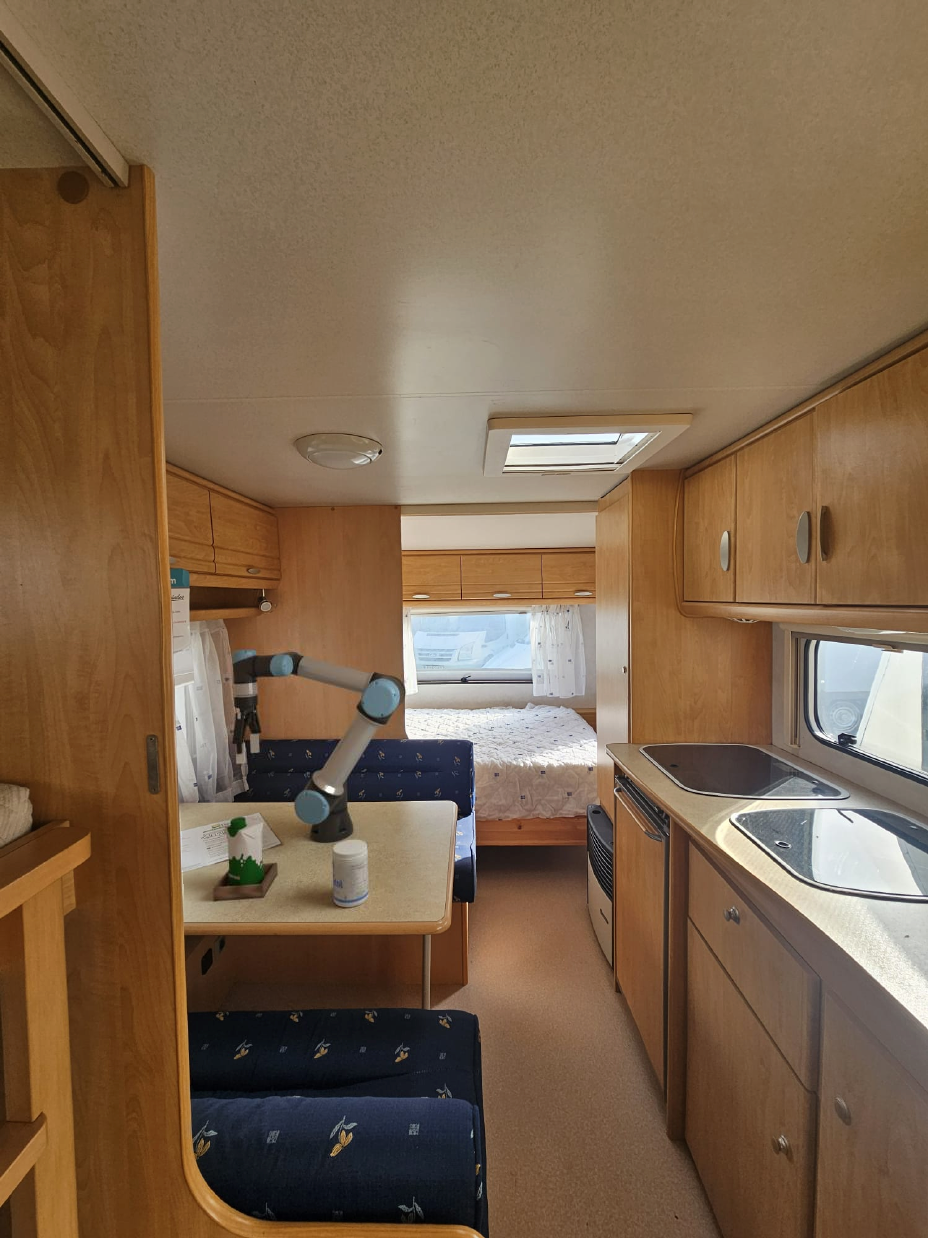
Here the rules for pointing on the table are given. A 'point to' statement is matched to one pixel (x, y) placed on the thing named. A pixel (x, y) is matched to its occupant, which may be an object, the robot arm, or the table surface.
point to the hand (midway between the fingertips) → (248, 757)
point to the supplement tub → (350, 873)
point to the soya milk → (245, 851)
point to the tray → (245, 886)
